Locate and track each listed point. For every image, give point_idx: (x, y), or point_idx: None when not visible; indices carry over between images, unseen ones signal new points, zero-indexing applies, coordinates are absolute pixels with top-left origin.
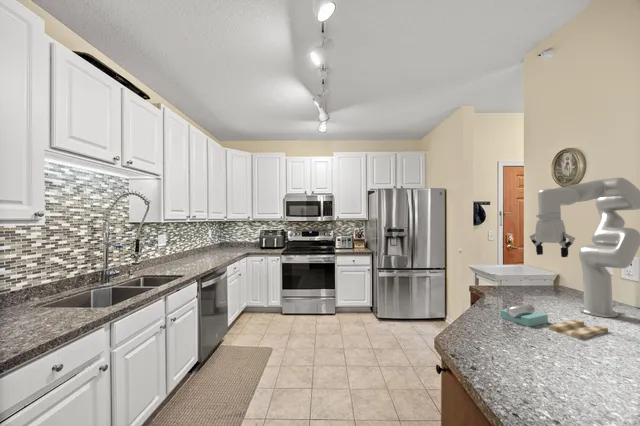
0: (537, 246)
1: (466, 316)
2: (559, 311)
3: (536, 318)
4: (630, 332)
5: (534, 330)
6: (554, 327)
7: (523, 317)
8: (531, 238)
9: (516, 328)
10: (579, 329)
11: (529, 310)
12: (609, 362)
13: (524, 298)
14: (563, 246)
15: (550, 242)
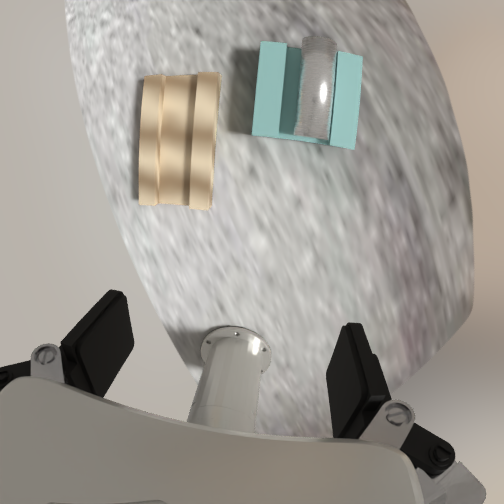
0: (372, 391)
1: (414, 24)
2: (297, 300)
3: (257, 78)
4: (136, 257)
5: (249, 54)
6: (202, 72)
7: (277, 42)
8: (463, 480)
9: (284, 29)
10: (179, 150)
11: (297, 106)
12: (93, 39)
13: (401, 344)
14: (50, 358)
15: (130, 409)
